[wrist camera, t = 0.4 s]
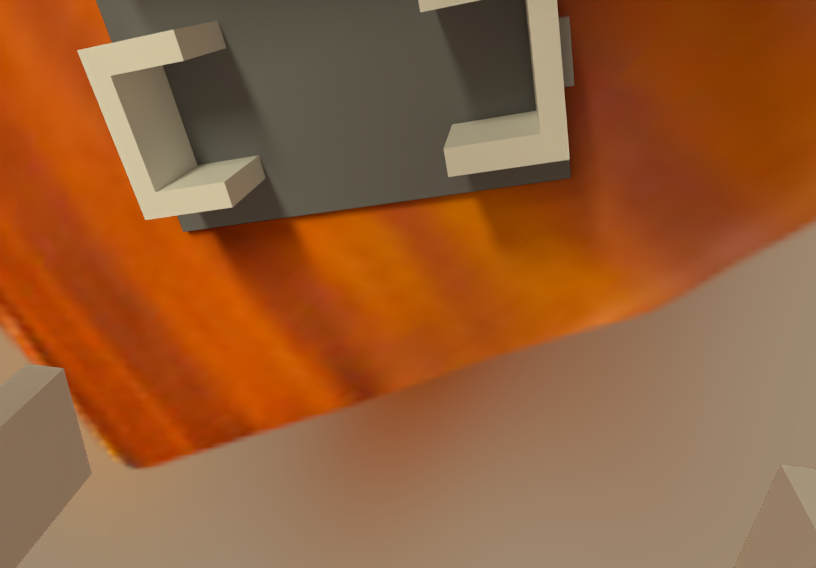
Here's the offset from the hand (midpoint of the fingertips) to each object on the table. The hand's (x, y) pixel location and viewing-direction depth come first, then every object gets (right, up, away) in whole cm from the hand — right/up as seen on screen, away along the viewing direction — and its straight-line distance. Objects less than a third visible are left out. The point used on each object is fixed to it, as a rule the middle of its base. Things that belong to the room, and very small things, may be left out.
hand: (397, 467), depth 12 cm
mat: (-4, +14, +22) cm, 27 cm away
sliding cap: (+5, +15, +20) cm, 25 cm away
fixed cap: (-12, +13, +24) cm, 30 cm away
